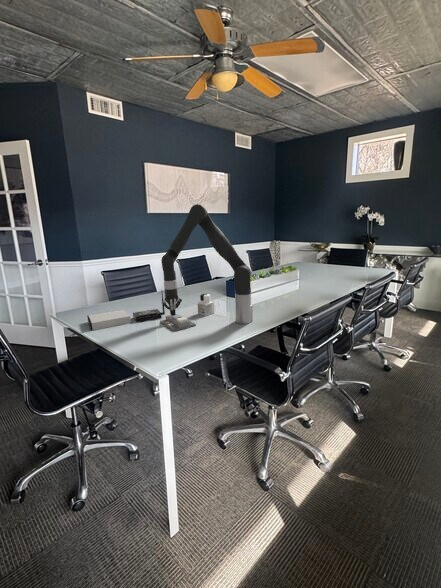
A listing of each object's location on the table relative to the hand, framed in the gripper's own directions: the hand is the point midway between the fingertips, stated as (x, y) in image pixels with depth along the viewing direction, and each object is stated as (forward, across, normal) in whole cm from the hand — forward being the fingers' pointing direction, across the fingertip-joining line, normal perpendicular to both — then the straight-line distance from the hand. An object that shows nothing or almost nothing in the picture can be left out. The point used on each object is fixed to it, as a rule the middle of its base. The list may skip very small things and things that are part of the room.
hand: (173, 315), depth 178 cm
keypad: (+4, 0, +6) cm, 7 cm away
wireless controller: (+5, +8, -17) cm, 20 cm away
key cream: (+1, 0, +12) cm, 12 cm away
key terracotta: (+3, 0, 0) cm, 3 cm away
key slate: (+1, 0, +6) cm, 6 cm away
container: (+4, -24, -1) cm, 24 cm away
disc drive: (+5, +32, -25) cm, 41 cm away
